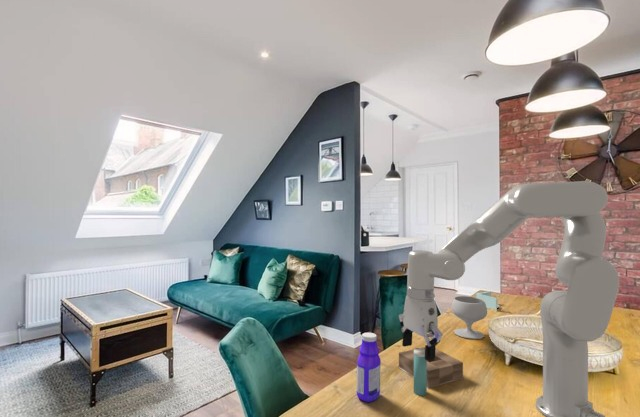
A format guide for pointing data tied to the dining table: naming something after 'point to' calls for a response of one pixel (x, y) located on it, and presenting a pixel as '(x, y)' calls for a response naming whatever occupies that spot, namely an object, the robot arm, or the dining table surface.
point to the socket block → (434, 367)
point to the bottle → (368, 369)
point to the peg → (420, 372)
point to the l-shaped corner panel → (488, 299)
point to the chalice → (469, 315)
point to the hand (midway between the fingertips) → (418, 352)
